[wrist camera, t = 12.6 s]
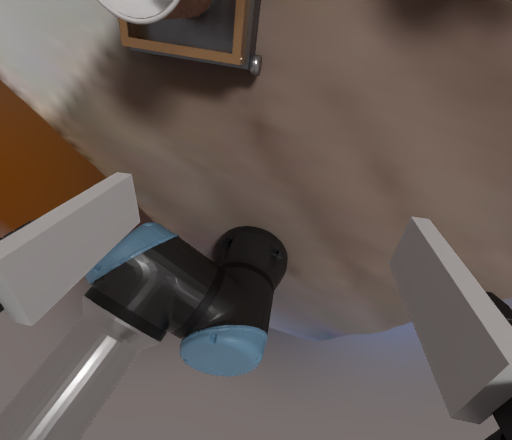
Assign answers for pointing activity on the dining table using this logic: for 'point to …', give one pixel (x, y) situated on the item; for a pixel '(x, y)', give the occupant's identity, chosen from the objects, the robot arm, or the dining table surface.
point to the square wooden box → (203, 35)
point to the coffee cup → (154, 9)
